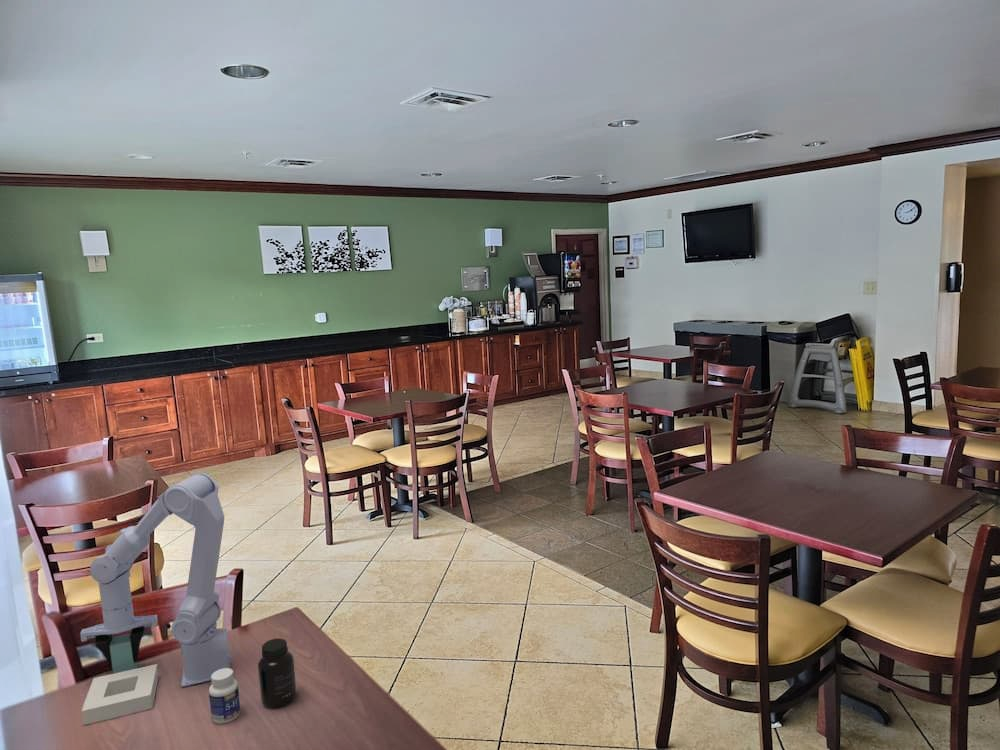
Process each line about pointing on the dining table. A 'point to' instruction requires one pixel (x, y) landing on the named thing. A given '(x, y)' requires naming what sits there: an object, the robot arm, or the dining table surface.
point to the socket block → (107, 706)
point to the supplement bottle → (276, 674)
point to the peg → (122, 654)
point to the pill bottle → (224, 696)
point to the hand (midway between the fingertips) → (124, 662)
